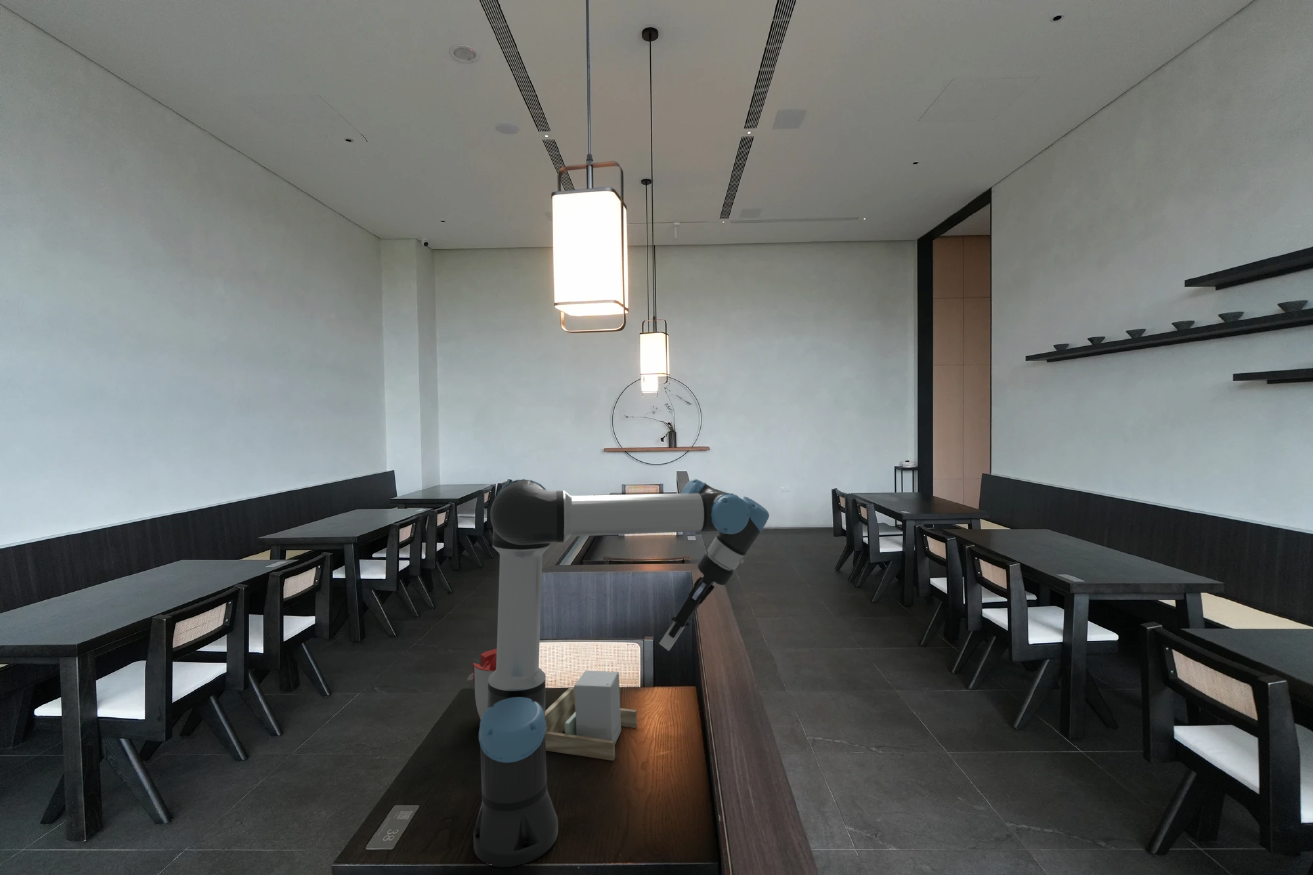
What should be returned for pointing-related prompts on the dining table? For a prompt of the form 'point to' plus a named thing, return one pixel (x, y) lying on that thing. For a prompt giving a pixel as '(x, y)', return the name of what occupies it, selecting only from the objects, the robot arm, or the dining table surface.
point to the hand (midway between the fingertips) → (664, 646)
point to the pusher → (571, 725)
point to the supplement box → (598, 705)
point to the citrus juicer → (483, 679)
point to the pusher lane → (574, 743)
